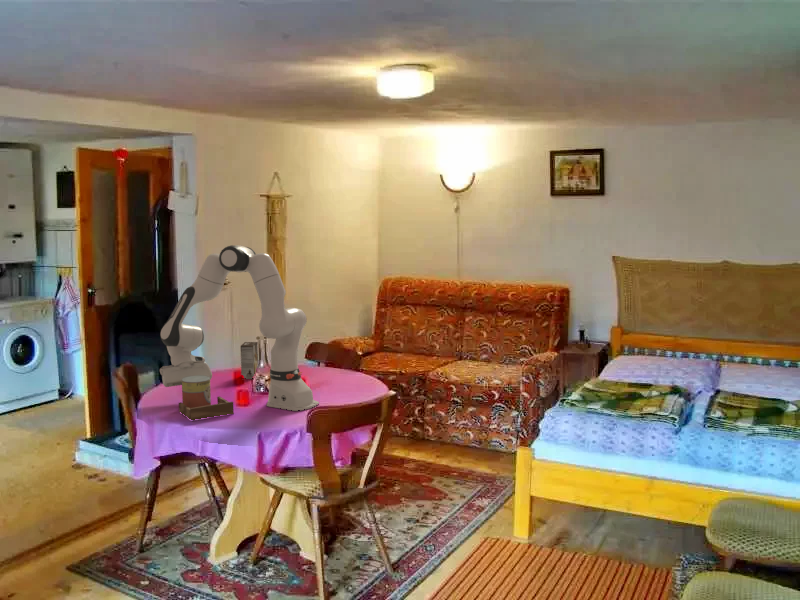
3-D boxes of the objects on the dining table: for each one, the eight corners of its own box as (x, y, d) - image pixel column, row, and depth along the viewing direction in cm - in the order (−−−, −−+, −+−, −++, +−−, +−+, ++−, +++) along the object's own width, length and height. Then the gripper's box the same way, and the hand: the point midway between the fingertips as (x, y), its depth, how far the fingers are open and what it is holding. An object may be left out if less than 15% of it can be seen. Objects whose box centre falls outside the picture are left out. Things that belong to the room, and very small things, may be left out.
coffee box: (245, 374, 366) (244, 341, 363) (258, 374, 365) (257, 341, 363) (241, 379, 356) (240, 345, 354) (254, 379, 356) (253, 345, 354)
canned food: (205, 411, 303) (204, 382, 301) (178, 410, 304) (177, 381, 303) (215, 404, 314) (214, 375, 313) (188, 403, 315) (187, 375, 314)
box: (179, 412, 302) (178, 400, 301) (220, 405, 312) (219, 394, 311) (191, 421, 290) (191, 408, 290) (233, 414, 300) (233, 402, 299)
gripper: (159, 362, 312) (168, 391, 306) (208, 356, 324) (217, 384, 317) (157, 371, 317) (165, 399, 310) (204, 365, 328) (213, 392, 321)
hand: (191, 391), depth 314 cm, fingers closed
